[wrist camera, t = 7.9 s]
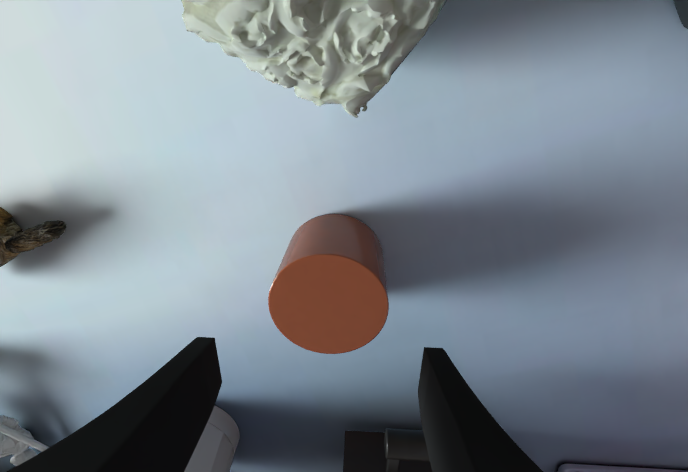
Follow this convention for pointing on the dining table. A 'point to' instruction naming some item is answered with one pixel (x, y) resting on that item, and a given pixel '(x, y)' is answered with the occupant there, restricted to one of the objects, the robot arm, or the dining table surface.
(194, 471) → the cup
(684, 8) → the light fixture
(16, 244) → the cat figurine
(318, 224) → the orange cylinder puck
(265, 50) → the ballet flat
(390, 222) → the dining table surface
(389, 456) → the drawer
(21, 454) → the figurine
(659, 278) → the dining table surface
